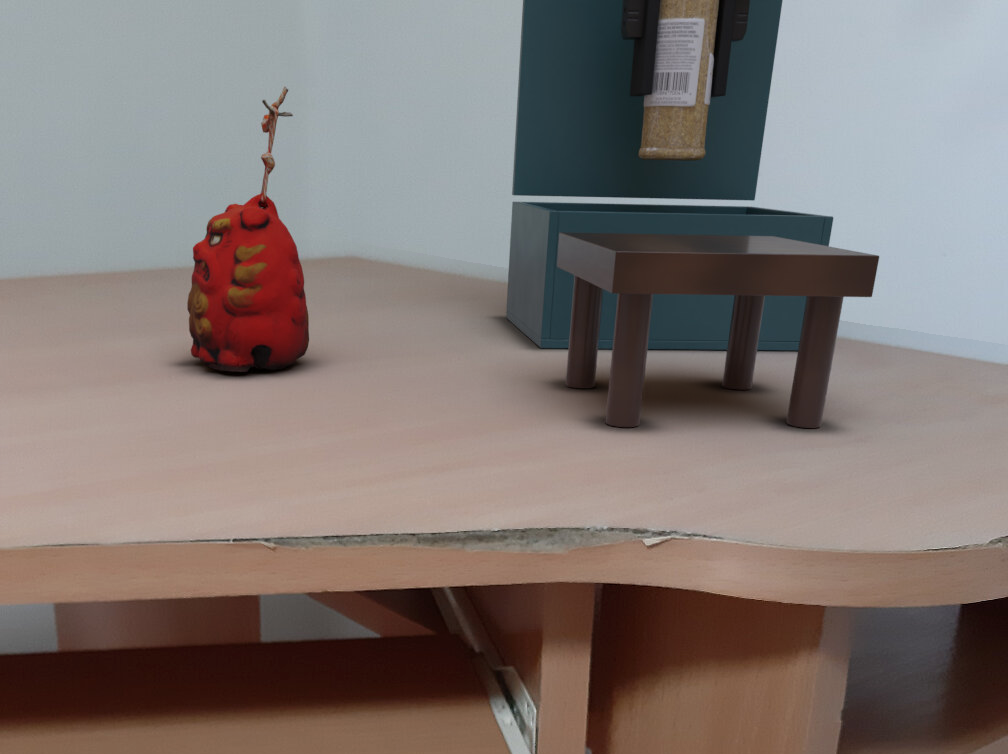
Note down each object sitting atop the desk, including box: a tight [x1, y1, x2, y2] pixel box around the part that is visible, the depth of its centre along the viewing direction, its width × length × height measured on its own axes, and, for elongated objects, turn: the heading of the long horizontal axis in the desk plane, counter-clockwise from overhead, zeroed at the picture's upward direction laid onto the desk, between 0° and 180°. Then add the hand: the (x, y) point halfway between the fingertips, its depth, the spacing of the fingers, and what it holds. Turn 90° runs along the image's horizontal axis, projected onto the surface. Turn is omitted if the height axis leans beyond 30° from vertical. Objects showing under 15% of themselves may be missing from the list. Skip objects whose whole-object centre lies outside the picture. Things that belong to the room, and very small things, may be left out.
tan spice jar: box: [639, 0, 719, 161], centre depth 71 cm, size 5×5×13 cm
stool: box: [557, 232, 880, 429], centre depth 54 cm, size 12×12×8 cm
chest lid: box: [511, 0, 784, 201], centre depth 78 cm, size 15×19×1 cm
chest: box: [505, 201, 834, 352], centre depth 76 cm, size 14×19×9 cm
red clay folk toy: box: [186, 86, 310, 373], centre depth 60 cm, size 8×7×15 cm
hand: (677, 95), depth 72 cm, fingers closed on tan spice jar, 4 cm apart
